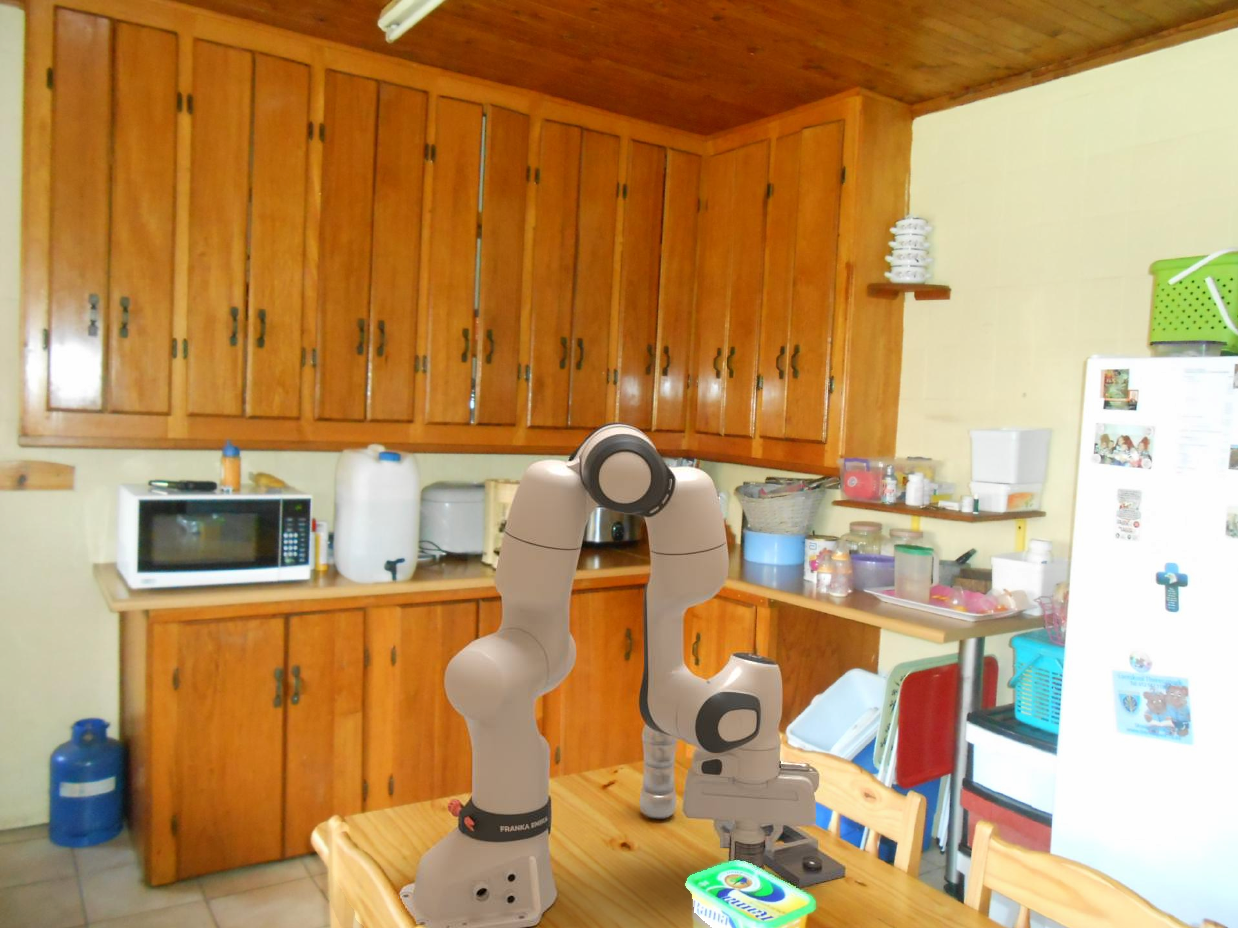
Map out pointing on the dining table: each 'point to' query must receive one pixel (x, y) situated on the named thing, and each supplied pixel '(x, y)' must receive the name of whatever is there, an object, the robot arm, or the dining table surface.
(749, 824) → the pill bottle
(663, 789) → the plastic bottle
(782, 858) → the bottle holder plate
